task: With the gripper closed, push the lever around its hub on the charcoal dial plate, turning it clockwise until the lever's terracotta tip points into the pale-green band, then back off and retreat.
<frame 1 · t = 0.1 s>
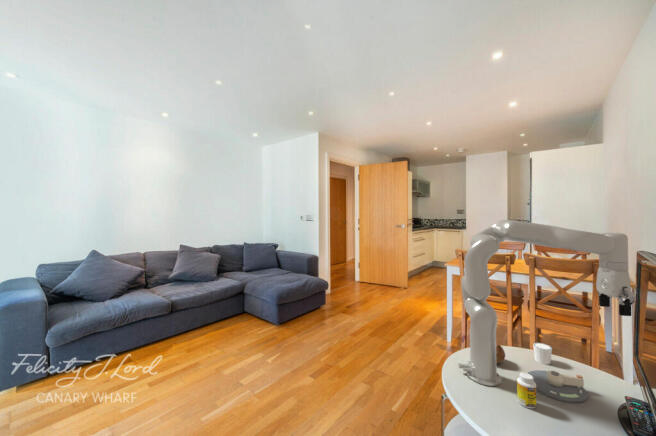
hand: (614, 310, 99), 31 cm above the table, fingers open, 9 cm apart
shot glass: (542, 361, 121), on the table
onion: (493, 361, 122), on the table
supplement bottle: (526, 404, 95), on the table
lever: (564, 378, 102), point 4 cm above the table, hinge at 0.0°
dial: (555, 386, 103), on the table
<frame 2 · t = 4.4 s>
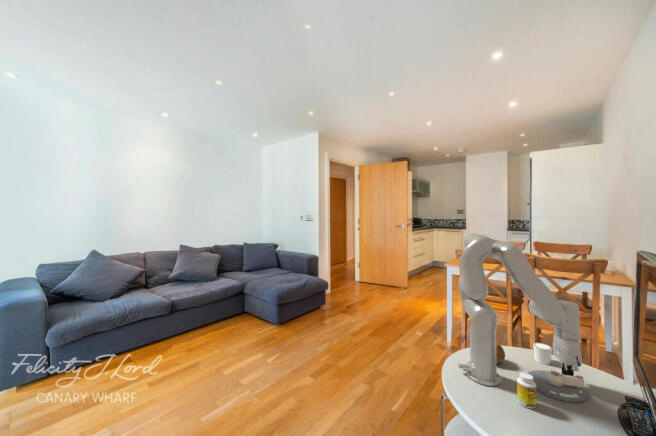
hand: (567, 378, 104), 2 cm above the table, fingers closed
lever: (564, 379, 102), point 4 cm above the table, hinge at -2.6°, touching gripper
everything else where it was.
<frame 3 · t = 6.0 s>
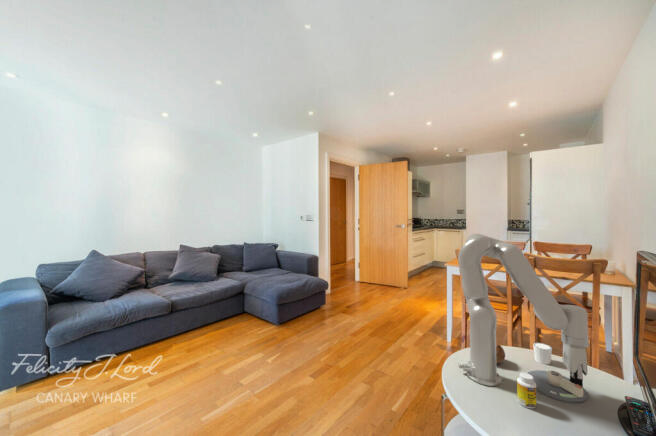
hand: (576, 387, 99), 3 cm above the table, fingers closed
lever: (564, 382, 100), point 4 cm above the table, hinge at -60.6°, touching gripper
everything else where it was.
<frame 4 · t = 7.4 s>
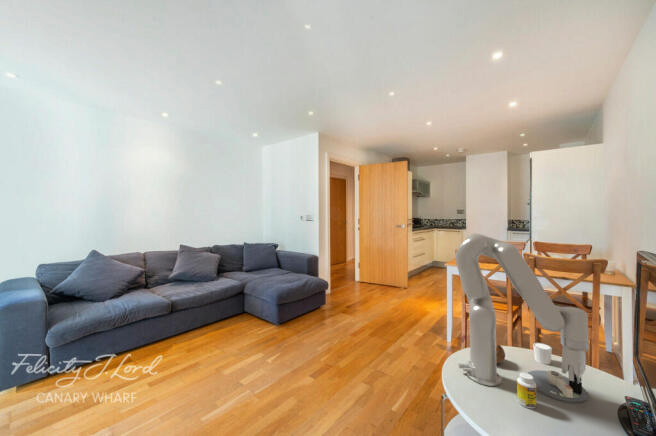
hand: (575, 391, 97), 3 cm above the table, fingers closed
lever: (560, 382, 100), point 4 cm above the table, hinge at -88.8°
everything else where it was.
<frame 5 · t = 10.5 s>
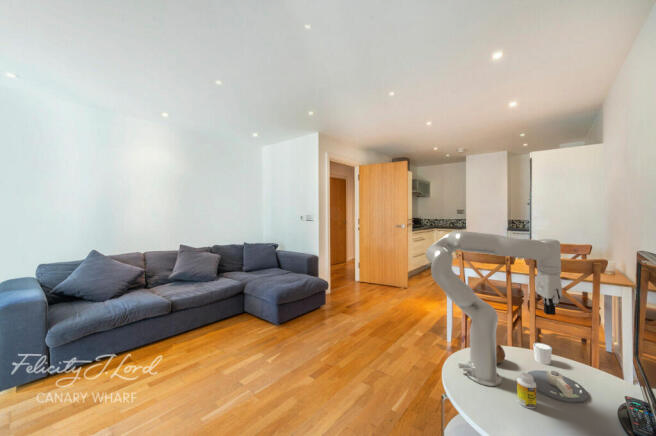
hand: (549, 313, 108), 27 cm above the table, fingers closed
nothing on the table moved.
at the end: lever at -89° (first picture: +0°); the gripper is holding nothing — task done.
